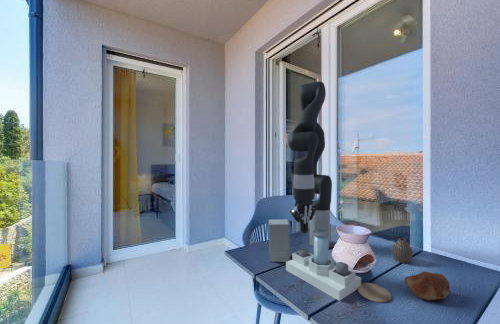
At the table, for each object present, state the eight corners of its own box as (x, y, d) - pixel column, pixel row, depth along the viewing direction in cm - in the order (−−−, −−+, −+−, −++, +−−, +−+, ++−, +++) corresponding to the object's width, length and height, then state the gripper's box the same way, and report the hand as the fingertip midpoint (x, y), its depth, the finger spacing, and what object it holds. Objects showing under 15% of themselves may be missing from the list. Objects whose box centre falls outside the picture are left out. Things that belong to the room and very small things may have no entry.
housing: (307, 261, 91) (307, 246, 91) (361, 286, 73) (361, 268, 73) (285, 270, 84) (285, 254, 84) (339, 300, 66) (339, 280, 66)
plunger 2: (340, 270, 75) (340, 261, 74) (350, 274, 72) (350, 265, 72) (333, 273, 72) (333, 264, 72) (343, 278, 70) (344, 268, 69)
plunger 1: (302, 256, 88) (302, 248, 88) (310, 259, 85) (310, 251, 85) (296, 258, 86) (296, 250, 85) (303, 262, 83) (303, 254, 83)
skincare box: (288, 255, 96) (288, 218, 96) (290, 263, 89) (290, 223, 89) (268, 254, 97) (268, 218, 97) (268, 262, 90) (268, 223, 89)
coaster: (366, 281, 76) (366, 279, 76) (396, 295, 69) (396, 293, 69) (351, 291, 71) (351, 289, 71) (382, 306, 64) (382, 304, 64)
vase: (393, 263, 89) (394, 241, 89) (390, 255, 96) (390, 235, 95) (414, 266, 87) (415, 243, 86) (409, 258, 93) (410, 237, 93)
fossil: (405, 289, 66) (414, 256, 69) (393, 287, 74) (401, 257, 77) (456, 315, 62) (462, 278, 65) (438, 310, 69) (444, 277, 73)
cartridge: (319, 264, 82) (319, 228, 82) (332, 270, 78) (332, 232, 78) (310, 268, 79) (310, 231, 79) (322, 274, 75) (322, 235, 75)
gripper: (307, 183, 91) (308, 226, 92) (283, 187, 83) (284, 233, 84) (323, 185, 85) (323, 231, 86) (299, 189, 77) (300, 239, 78)
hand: (304, 232), depth 85 cm, fingers closed
